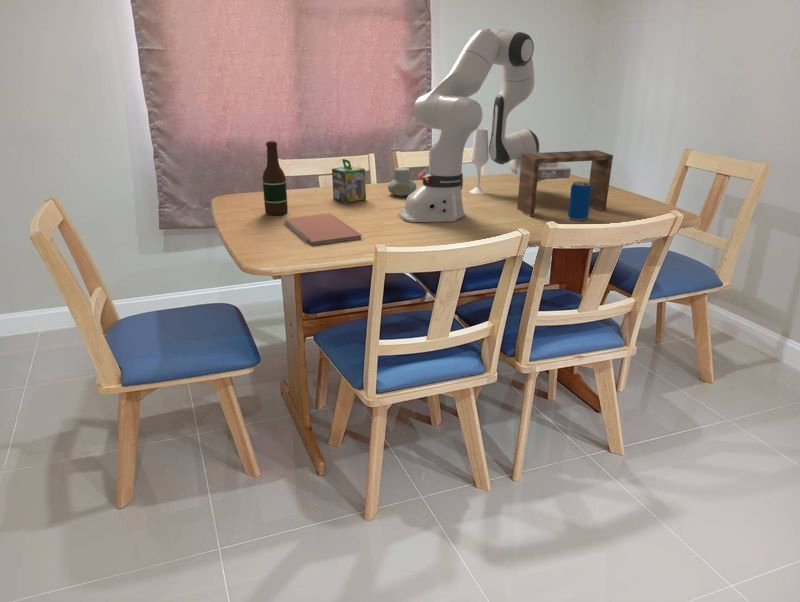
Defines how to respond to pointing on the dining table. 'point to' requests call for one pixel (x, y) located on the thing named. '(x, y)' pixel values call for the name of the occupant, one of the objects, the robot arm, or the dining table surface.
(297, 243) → the dining table surface
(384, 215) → the dining table surface
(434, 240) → the dining table surface
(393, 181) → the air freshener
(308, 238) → the notebook
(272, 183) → the beer bottle
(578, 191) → the beverage can
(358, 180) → the chalk box
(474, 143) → the champagne flute
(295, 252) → the dining table surface
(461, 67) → the robot arm
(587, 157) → the walnut riser shelf
